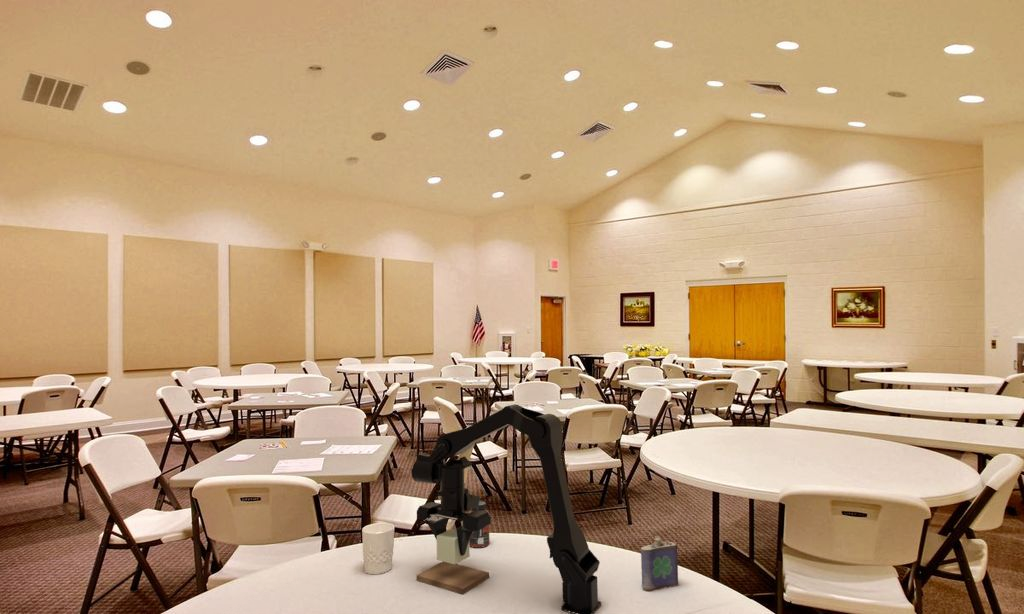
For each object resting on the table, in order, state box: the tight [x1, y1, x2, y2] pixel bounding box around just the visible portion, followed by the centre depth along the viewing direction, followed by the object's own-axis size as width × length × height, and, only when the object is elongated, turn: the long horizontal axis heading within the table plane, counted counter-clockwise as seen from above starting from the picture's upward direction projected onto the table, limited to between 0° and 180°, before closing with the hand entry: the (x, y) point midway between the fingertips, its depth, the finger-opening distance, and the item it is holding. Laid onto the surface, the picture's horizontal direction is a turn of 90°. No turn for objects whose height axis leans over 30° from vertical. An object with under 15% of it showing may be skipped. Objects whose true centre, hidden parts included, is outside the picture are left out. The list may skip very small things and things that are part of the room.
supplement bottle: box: [468, 500, 490, 549], centre depth 144 cm, size 6×6×11 cm
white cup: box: [361, 522, 395, 575], centre depth 129 cm, size 8×8×10 cm
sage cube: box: [436, 528, 471, 564], centre depth 123 cm, size 6×6×6 cm
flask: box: [640, 535, 679, 592], centre depth 117 cm, size 9×3×11 cm, turn 109°
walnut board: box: [416, 561, 490, 595], centre depth 122 cm, size 14×10×1 cm
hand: (453, 552), depth 122 cm, fingers closed on sage cube, 5 cm apart
